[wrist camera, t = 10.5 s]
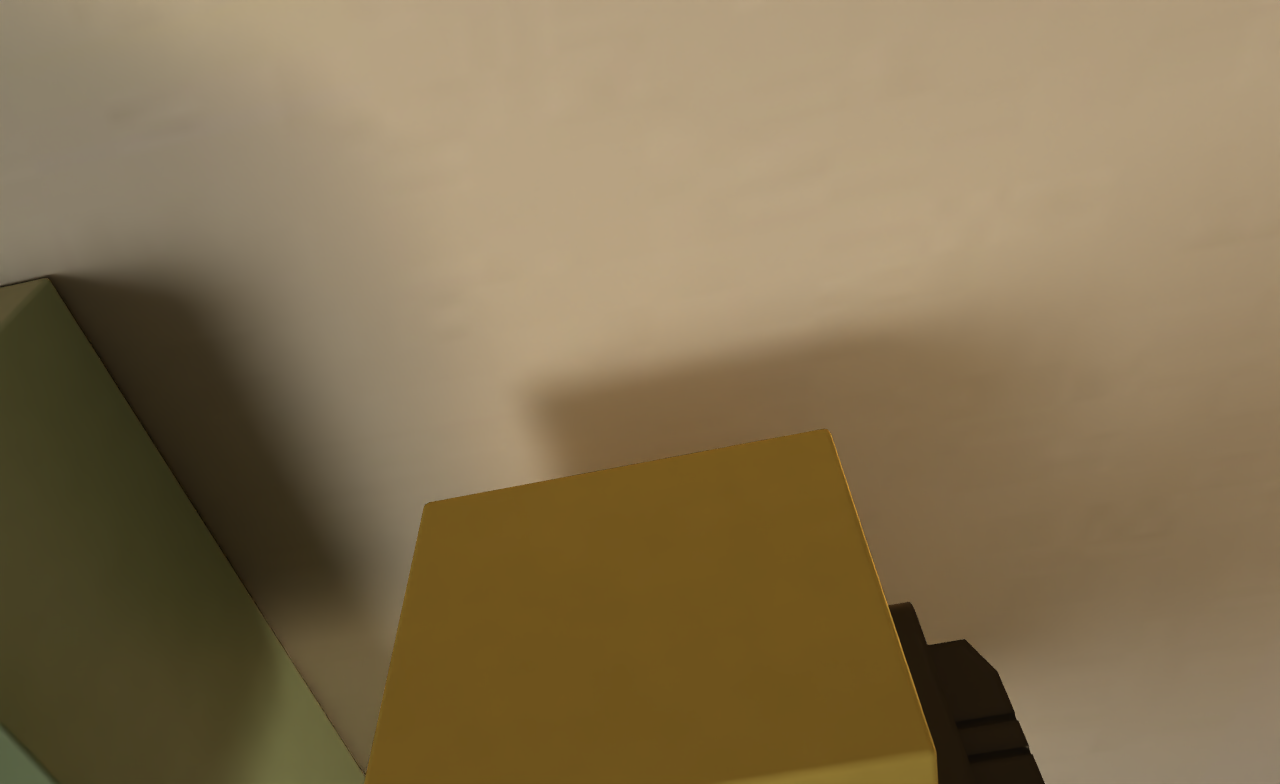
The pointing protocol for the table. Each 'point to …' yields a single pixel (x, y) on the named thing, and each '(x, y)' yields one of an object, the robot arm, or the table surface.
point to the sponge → (653, 632)
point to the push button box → (125, 596)
